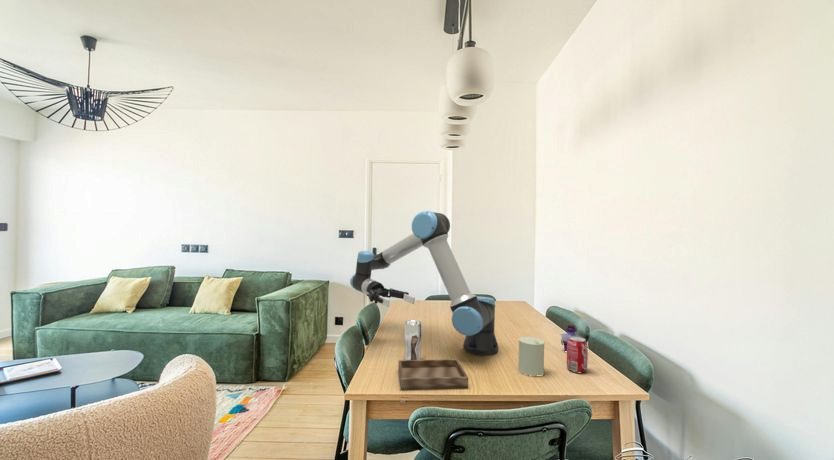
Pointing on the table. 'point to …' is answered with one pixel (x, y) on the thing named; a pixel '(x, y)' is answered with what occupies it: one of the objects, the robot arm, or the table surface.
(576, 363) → the soda can
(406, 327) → the beer glass
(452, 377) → the walnut tray
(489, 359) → the table surface
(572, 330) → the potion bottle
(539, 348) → the can
